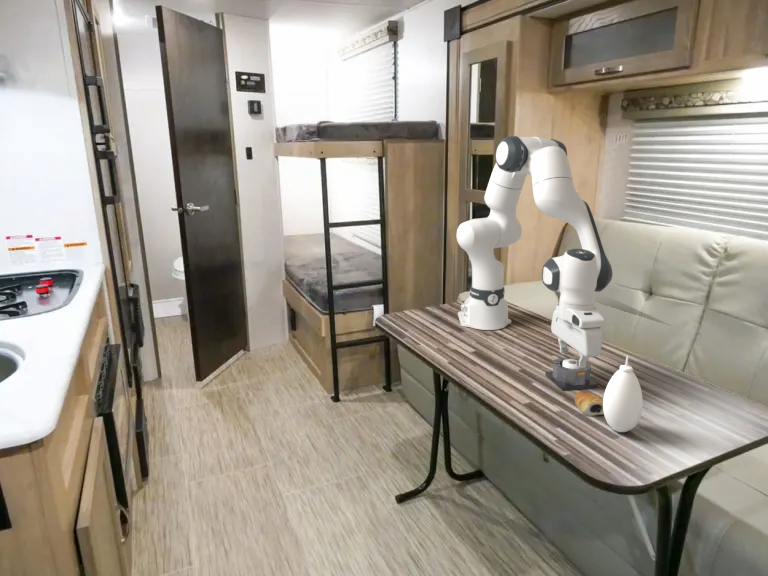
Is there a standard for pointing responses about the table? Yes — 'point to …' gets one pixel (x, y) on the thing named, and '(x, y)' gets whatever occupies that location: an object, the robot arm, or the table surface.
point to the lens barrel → (571, 376)
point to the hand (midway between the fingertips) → (572, 360)
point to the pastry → (589, 404)
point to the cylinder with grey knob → (570, 364)
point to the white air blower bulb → (623, 400)
